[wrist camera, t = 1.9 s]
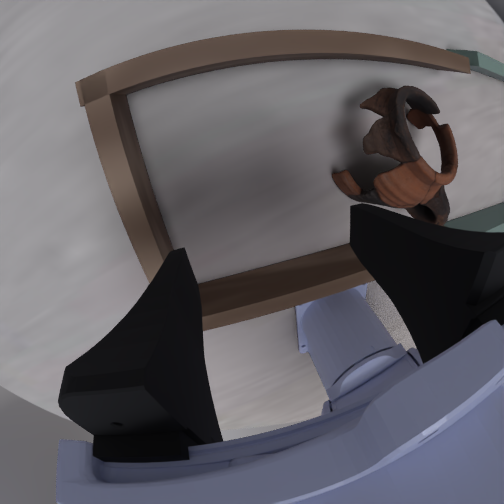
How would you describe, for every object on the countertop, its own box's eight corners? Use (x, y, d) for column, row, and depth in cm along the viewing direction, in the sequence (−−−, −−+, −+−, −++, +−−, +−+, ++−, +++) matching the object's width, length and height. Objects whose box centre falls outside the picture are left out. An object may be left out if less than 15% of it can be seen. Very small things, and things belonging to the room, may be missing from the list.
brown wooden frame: (432, 230, 26) (455, 248, 23) (174, 303, 24) (174, 337, 20) (437, 55, 16) (468, 57, 12) (97, 84, 13) (75, 82, 10)
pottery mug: (296, 158, 20) (367, 117, 12) (347, 95, 22) (408, 55, 14) (388, 256, 23) (465, 259, 15) (421, 184, 25) (484, 172, 17)
